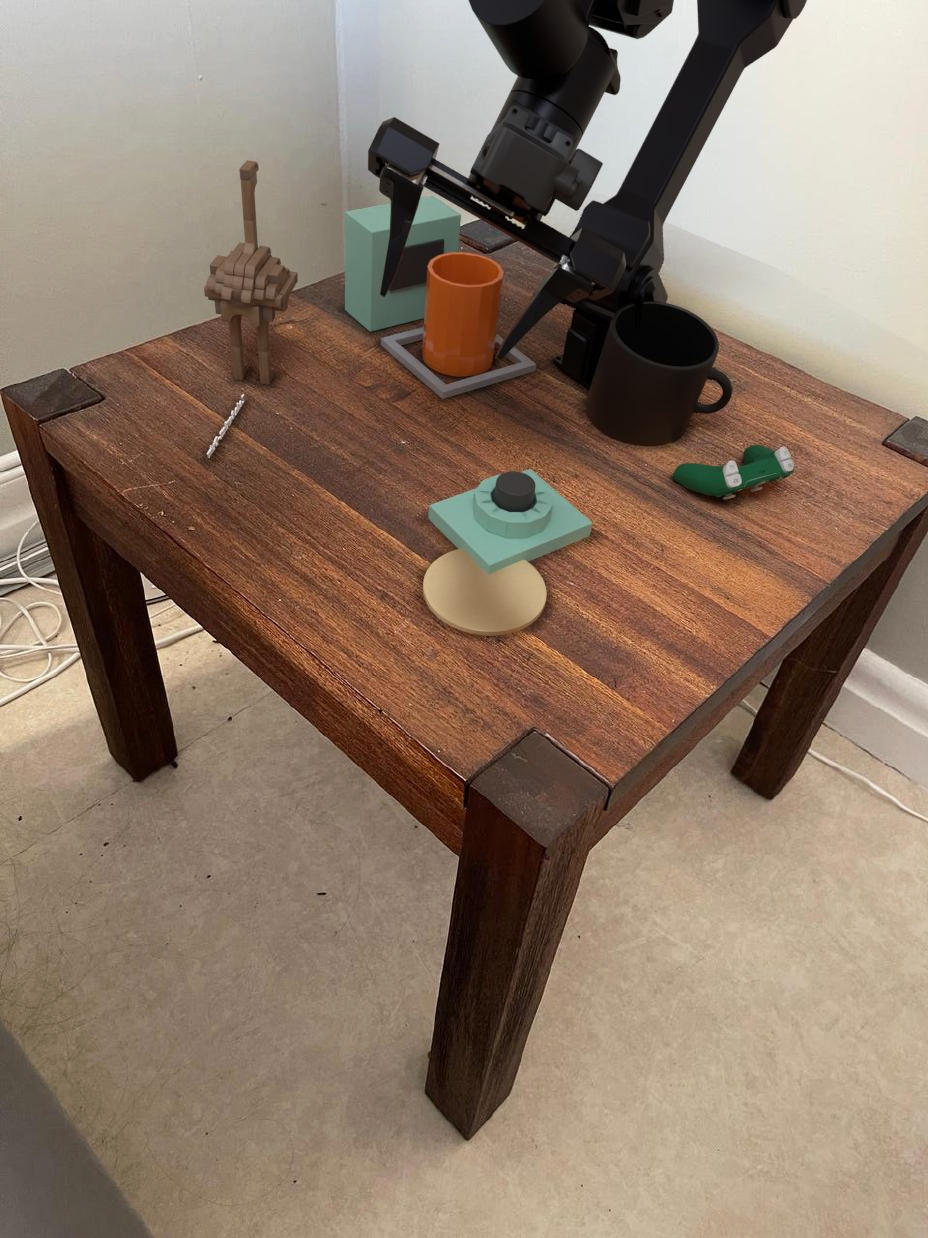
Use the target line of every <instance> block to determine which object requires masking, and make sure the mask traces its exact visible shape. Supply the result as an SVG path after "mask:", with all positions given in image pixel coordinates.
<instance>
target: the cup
mask: <svg viewBox="0 0 928 1238" xmlns="http://www.w3.org/2000/svg"><path fill="white" fill-rule="evenodd" d="M504 276H505V272H504V269H503V268H502V265H500V264H499V263H498V262H496V261H495V260H494V259H492V258H490V257H487V256H484V255H481V254H479V253H478V254H477V253H472V252H465V251H460V252H459V251H458V252H451V253H446V254H442V255H438V256H436V257H435V258H433V259H431V260H430V262H429V264H428V266H427V281H426V297H425V313H424V318H423V327H424V329H423V340H422V344H421V345H422V346H421V347H422V348H421V351H422V360H423V362H424V363H425V366H427V367H428V368H430V369H431V370H433V371H435V372H437V373H439V374H442V375H445V376H450V377H455V378H456V377H457V378H462V377H473V376H477V375H480V374H483V373H486V372H488V370H489V369H490V368H491V367H492V366H493V363H494V362H493V361H494V356H495V350H496V349H495V342H496V334H498V333H497V332H498V324H499V317H500V310H501V309H500V308H501V299H502V292H503V283H504Z"/></svg>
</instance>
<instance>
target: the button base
mask: <svg viewBox="0 0 928 1238" xmlns="http://www.w3.org/2000/svg"><path fill="white" fill-rule="evenodd" d="M521 472H522V473H525V474H527V475H529V476H530V477H531V478H532V479H533V480H534V481H535V484H536V487H535V493H534V499H533V504H532V506H531V508H530V509H529V510H527V511H525V512H508V511H505V510H502V509H500V508H499V507H498V506H497V505H496V504H495V502H494V493H495V486H496V480H497V478H498V476H499V475H501V474H502V473H499V474H495V475H493V476H490V477H487V478H485V479H483V480H482V481H481V482H480V483H479V485H478V486H476V488H473V489H469V490H467V491H465V492H462V493H459V494H456V495H454V496H450V497H448V498H445V499H443V500H440V501H437V502H434V503H431V504H429V505H428V516H427V517H428V520H429V521H430V522H431V523H432V524H433V525H434V526H435V527H436V528H437V529H438V530H439V531H440V532H441V533H442V534H443V535H444V536H445V537H446V538H447V539H448V540H449V541H450V542H451V543H452V545H454V546H455V547H456V549H461V548H463V549H464V550H465V551H466V552H467V553H468V554H469V555H470V556H471V557H472V558H473V559H474V560H475V561H476V562H477V563H478V564H479V565H480V567H481V568H482V569H483V570H484V571H485V572H486V573H487V574H490V573H493V572H495V571H497V570H500V569H502V568H505V567H507V566H509V565H512V564H514V563H517V562H519V561H522V560H526V561H527V562H531V561H533V560H535V559H537V558H540V557H542V556H546V555H548V554H549V553H553V552H555V551H557V550H560V549H562V548H564V547H567V546H569V545H571V544H574V543H576V542H580V540H584V539H586V538H588V537H590V536H591V533H592V529H593V524H594V523H593V521H591V520H590V518H588V517H587V516H586V515H584V513H582V512H581V511H580V510H578V509H577V508H576V507H575V506H574V505H573V504H572V503H571V502H569V501H568V500H567V499H566V497H564V496H563V495H562V494H560V493H559V491H557V490H556V489H554V488H553V487H552V486H551V485H550V484H549V483H548V482H547V481H545V480H544V479H543V478H542V477H541V476H539V474H537V473H536V472H535V471H534V470H533V469H532V468H528V469H526V470H523V471H521Z"/></svg>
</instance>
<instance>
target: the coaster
mask: <svg viewBox="0 0 928 1238" xmlns="http://www.w3.org/2000/svg"><path fill="white" fill-rule="evenodd" d="M545 583H546V582H545V580H544V579H543V576H542V575H541V573H540V572H539V571H538V570H537V569H536V568H535V566H533V565H532V564H531V563H530V561H528V562H527V561H526V560H522V561H519V562H517V563H514V564H512V565H509V566H507V567H505V568H502V569H500V570H497V571H495V572H493V573H490V574H487V573H486V572H485V571H484V570H483V569H482V568H481V567H480V565H479V564H478V563H477V562H476V561H475V560H474V559H473V558H472V557H471V556H470V555H469V554H468V553H467V552H466V551H465V550H464V549H463V548H461V549H458V548H456V549H453V550H450V551H449V552H446V553H443V555H440V556H439V557H437V559H435V560H434V561H433V562H432V563H431V564H430V565H429V567H427V570H426V571H425V574H424V577H423V581H422V593H423V598H424V601H425V603H426V605H427V606H428V609H430V611H431V612H432V613H433V614H434V615H435V617H436V618H438V619H439V620H440V621H442V622H443V623H445V624H446V625H448V626H449V627H452V628H453V629H456V630H458V631H462V632H464V633H467V634H472V635H477V636H487V637H488V636H489V637H492V636H493V637H495V636H503V635H504V636H505V635H510V634H513V633H517V632H519V631H522V630H523V629H526V628H527V627H529V626H531V625H532V624H534V623H535V622H536V620H538V619H539V618H540V616H541V615H542V613H543V612H544V610H545V607H546V603H547V595H548V593H547V586H546V584H545Z"/></svg>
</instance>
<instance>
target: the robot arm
mask: <svg viewBox="0 0 928 1238" xmlns="http://www.w3.org/2000/svg"><path fill="white" fill-rule="evenodd" d="M807 1H808V0H696V7H697V9H696V10H697V29H698V30H697V32H698V33H697V36H696V38H695V40H694V43H692V46H691V48H690V50H689V52H688V54H687V56H686V58H685V60H684V61H683V64H682V66H681V68H680V70H679V72H678V73H677V76H676V78H675V79H674V81H673V83H672V85H671V87H670V89H669V91H668V93H667V95H666V97H665V99H664V101H663V103H662V105H661V107H660V108H659V111H658V112H657V115H656V117H655V119H654V121H653V122H652V125H651V127H650V128H649V130H648V132H647V134H646V136H645V138H644V140H643V142H642V144H641V146H640V147H639V150H638V152H637V154H636V155H635V157H634V159H633V161H632V164H631V166H630V168H629V169H628V171H627V173H626V175H625V177H624V179H623V180H622V183H621V185H620V187H619V189H618V190H617V192H616V194H615V195H614V196H612V197H611V198H608V199H607V200H606V201H605V202H603V203H602V202H599V201H598V200H591V201H590V202H589V203H588V204H587V205H585V207H584V208H583V209H582V212H581V215H580V217H579V219H578V222H577V224H576V226H575V228H574V229H573V232H571V234H570V236H568V235H566V234H564V233H563V232H561V231H559V230H557V229H555V228H554V227H552V226H551V225H549V224H547V223H546V222H543V221H542V218H543V217H546V216H547V215H549V213H550V211H551V210H552V207H553V205H554V203H555V201H557V202H559V203H561V204H563V205H565V206H567V207H568V208H570V209H572V210H574V211H575V212H578V211H579V210H580V209H581V207H582V206H583V204H584V202H585V200H586V199H587V197H588V195H589V193H590V191H591V190H592V187H593V185H594V183H595V181H596V179H597V178H598V175H599V173H600V171H601V170H602V167H603V165H604V163H603V162H602V161H601V160H599V159H597V158H596V157H594V156H593V155H591V154H589V153H588V152H586V151H584V150H583V149H581V148H578V147H579V145H580V143H581V140H582V138H583V136H584V134H585V132H586V130H587V128H588V126H589V125H590V122H591V120H592V118H593V116H594V115H595V112H596V110H597V108H598V106H599V104H600V103H601V100H602V98H603V97H604V94H605V93H606V94H609V95H612V96H617V95H618V94H619V93H620V90H621V81H622V79H621V78H622V77H621V74H620V71H619V66H618V55H619V52H618V50H617V49H615V48H612V47H610V46H609V44H608V42H607V40H606V39H605V37H604V36H603V35H602V34H601V33H600V32H599V31H598V30H596V29H595V28H597V29H599V30H603V31H607V32H610V33H614V34H617V35H620V36H624V37H627V38H628V37H629V38H632V39H635V40H639V39H644V38H645V37H647V36H648V35H649V34H650V33H651V32H652V31H654V30H655V29H656V28H657V27H658V26H659V25H660V24H662V22H663V21H665V19H667V18H668V17H669V16H670V15H671V14H672V13H673V8H674V4H675V3H674V2H675V0H468V3H469V5H470V8H471V11H472V12H473V14H474V15H475V17H476V19H477V21H478V22H479V23H480V25H481V27H482V28H483V30H484V32H485V34H486V35H487V37H488V38H489V40H490V41H491V43H492V45H493V47H494V48H495V50H496V51H497V53H498V55H499V56H500V58H501V59H502V62H503V63H504V65H505V66H506V68H508V69H509V71H510V72H511V73H513V74H514V75H516V76H517V77H516V79H515V81H514V83H513V85H512V87H511V89H510V91H509V94H508V95H507V98H506V100H505V101H504V103H503V106H502V108H501V110H500V112H499V114H498V115H497V118H496V119H495V122H494V124H493V126H492V128H491V130H490V132H489V133H488V134H487V135H486V138H485V139H484V142H483V144H482V146H481V148H480V150H479V152H478V154H477V156H476V158H475V160H474V162H473V164H472V166H471V168H470V171H469V175H468V177H467V176H465V175H463V174H461V173H460V172H458V171H456V170H455V169H454V168H451V167H449V166H448V165H446V164H444V163H442V161H439V160H437V159H436V158H437V155H438V151H439V148H440V142H438V141H436V140H434V139H433V138H431V137H429V136H428V135H426V134H424V133H423V132H421V131H419V130H417V129H416V128H414V127H413V126H411V125H410V124H408V123H406V122H404V121H402V120H401V119H399V118H398V117H395V116H394V117H391V118H389V119H386V120H383V121H382V122H381V124H380V125H379V126H378V129H377V131H376V133H375V135H374V138H373V139H372V141H371V144H370V146H369V148H368V150H367V171H368V172H370V173H371V174H372V175H374V176H375V177H376V178H378V179H379V186H378V191H379V192H380V194H381V195H383V196H384V197H386V198H388V199H389V200H390V203H391V211H390V236H389V243H388V249H387V255H386V261H385V267H384V273H383V279H382V285H381V291H380V295H381V296H383V297H385V296H386V294H387V292H388V290H389V288H390V286H391V284H392V282H393V280H394V277H395V274H396V271H397V268H398V265H399V262H400V259H401V256H402V253H403V250H404V247H405V244H406V241H407V238H408V235H409V232H410V229H411V226H412V223H413V220H414V217H415V214H416V211H417V208H418V205H419V201H420V198H421V197H422V194H423V191H424V189H427V190H429V191H430V192H432V193H434V194H436V195H438V196H439V197H441V198H443V199H445V200H446V201H448V202H450V203H452V204H453V205H455V206H457V207H459V208H460V209H462V210H464V211H465V212H467V213H468V214H471V215H472V216H474V217H476V218H478V219H479V220H481V221H483V222H484V223H486V224H487V225H490V226H492V227H493V228H495V229H496V230H498V231H500V232H502V233H503V234H505V235H507V236H509V237H510V238H512V239H514V240H516V241H518V242H519V243H521V244H522V245H525V246H526V247H528V248H530V249H532V250H533V251H534V252H536V253H538V254H540V255H542V256H543V257H546V259H548V260H551V261H552V262H554V265H553V267H552V268H553V270H552V271H551V272H549V273H548V274H547V275H545V276H544V277H543V278H542V279H541V281H540V282H539V284H538V285H537V287H536V288H535V290H534V291H533V293H532V295H531V297H530V298H529V300H528V301H527V303H526V304H525V306H524V307H523V309H522V310H521V312H520V313H519V315H518V316H517V318H516V320H515V321H514V322H513V324H512V326H511V327H510V329H509V331H508V332H507V334H506V335H505V337H504V338H503V339H504V340H503V342H502V344H501V346H500V348H499V350H497V353H496V355H495V357H494V358H495V359H496V360H498V361H501V360H503V359H504V358H506V357H505V356H506V354H507V353H508V352H509V351H510V350H511V349H512V348H513V347H515V346H516V345H517V344H518V343H519V342H520V341H521V340H522V339H523V338H524V337H525V336H526V335H527V334H528V333H529V332H530V331H531V330H532V329H533V328H534V326H535V325H536V324H537V323H538V322H540V320H541V319H542V318H543V317H544V316H545V315H547V314H548V313H549V312H550V311H551V310H553V309H554V308H555V307H557V306H558V305H559V304H560V305H563V306H565V305H566V306H567V307H571V308H573V310H572V316H571V320H570V327H568V328H567V331H566V336H565V341H564V348H563V353H560V354H557V355H555V356H553V357H552V363H553V364H554V365H555V366H557V367H558V368H559V369H561V370H562V371H563V372H565V373H566V374H567V375H568V376H570V377H571V378H572V379H574V380H575V381H577V382H578V383H579V384H580V385H582V387H584V388H586V389H587V390H588V391H589V390H590V387H591V383H592V380H593V377H594V374H595V371H596V367H597V364H598V361H599V358H600V354H601V351H602V348H603V345H604V341H605V338H606V335H607V332H608V328H609V325H610V322H611V319H612V317H613V315H614V314H615V313H616V312H617V310H618V309H620V308H621V307H623V306H625V305H627V304H630V303H634V304H635V330H636V327H637V317H638V306H639V328H640V322H641V314H642V306H643V303H644V302H645V301H659V302H665V303H667V301H668V299H669V295H668V292H667V290H666V288H665V286H664V283H663V281H662V278H661V276H660V271H661V269H662V267H663V265H664V263H665V247H664V224H665V222H666V220H667V218H668V216H669V214H670V212H671V210H672V208H673V206H674V204H675V202H676V200H677V199H678V197H679V194H681V193H680V192H681V190H682V189H683V187H684V185H685V184H686V181H687V179H688V177H689V175H690V174H691V171H692V170H693V167H694V166H695V164H696V162H697V160H698V158H699V156H700V155H701V153H702V151H703V149H704V146H705V144H706V143H707V141H708V139H709V137H710V135H711V133H712V131H713V129H714V127H715V125H716V123H717V121H719V118H720V116H721V114H722V112H723V111H724V108H725V107H726V104H727V102H728V100H729V98H730V97H731V95H732V92H733V91H734V89H735V87H736V86H737V83H738V81H739V79H740V77H741V76H742V74H743V72H744V71H745V69H746V68H747V67H749V66H751V65H752V64H753V63H754V62H756V61H758V60H759V59H761V58H762V57H763V56H765V55H766V54H769V52H771V51H772V50H774V49H775V48H776V47H778V45H779V43H780V42H781V40H782V38H784V35H785V34H786V32H787V31H788V29H789V27H790V26H791V24H792V22H793V21H794V20H797V18H799V16H800V15H801V13H802V12H803V10H804V9H805V6H806V4H807ZM476 200H477V201H476ZM508 219H509V220H508ZM512 220H515V221H516V222H518V223H521V224H522V226H524V227H522V226H520V225H518V224H517V223H515V222H514V223H513V221H512Z"/></svg>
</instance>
